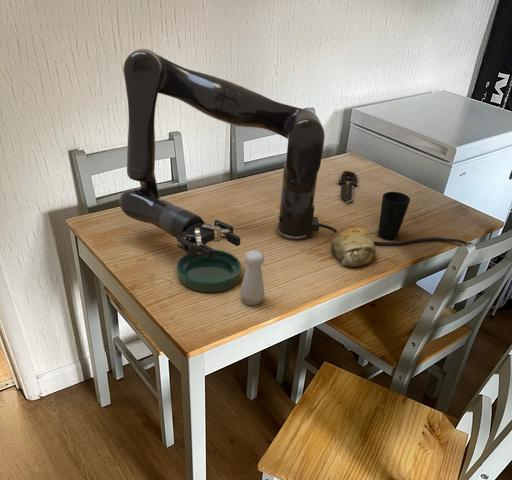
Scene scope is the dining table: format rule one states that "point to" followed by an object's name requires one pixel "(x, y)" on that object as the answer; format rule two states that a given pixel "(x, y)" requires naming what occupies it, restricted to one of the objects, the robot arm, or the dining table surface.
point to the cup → (392, 214)
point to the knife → (350, 185)
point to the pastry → (353, 246)
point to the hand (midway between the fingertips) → (227, 248)
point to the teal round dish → (209, 271)
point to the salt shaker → (253, 278)
